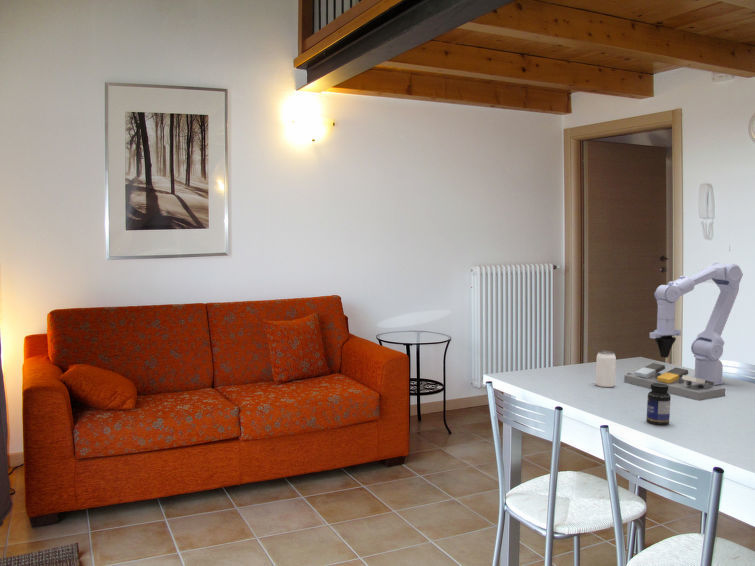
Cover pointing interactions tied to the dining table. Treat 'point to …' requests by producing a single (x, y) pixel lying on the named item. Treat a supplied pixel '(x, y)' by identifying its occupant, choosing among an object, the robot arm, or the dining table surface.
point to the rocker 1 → (649, 370)
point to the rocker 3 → (697, 380)
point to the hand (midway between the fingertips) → (664, 357)
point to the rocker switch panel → (679, 387)
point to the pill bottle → (658, 404)
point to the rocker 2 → (672, 375)
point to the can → (605, 369)
